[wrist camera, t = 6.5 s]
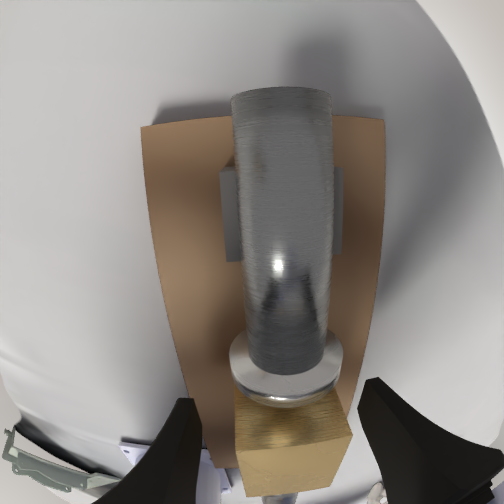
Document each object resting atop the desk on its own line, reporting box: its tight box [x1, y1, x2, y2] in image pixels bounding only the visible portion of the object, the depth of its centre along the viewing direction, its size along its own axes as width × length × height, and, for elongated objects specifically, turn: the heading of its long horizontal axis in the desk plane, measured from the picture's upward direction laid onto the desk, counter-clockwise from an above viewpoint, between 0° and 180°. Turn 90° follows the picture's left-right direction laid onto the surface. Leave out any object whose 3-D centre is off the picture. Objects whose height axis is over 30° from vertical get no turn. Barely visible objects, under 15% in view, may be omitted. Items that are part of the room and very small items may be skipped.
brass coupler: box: [235, 385, 353, 497], centre depth 10 cm, size 5×4×6 cm
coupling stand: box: [141, 87, 385, 504], centre depth 11 cm, size 22×9×6 cm, turn 3°
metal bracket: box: [2, 427, 121, 493], centre depth 19 cm, size 14×6×15 cm
